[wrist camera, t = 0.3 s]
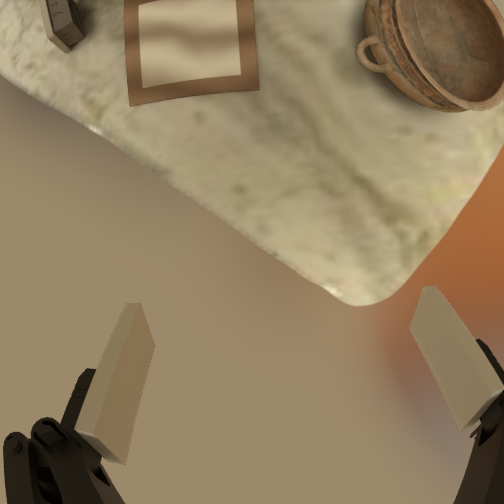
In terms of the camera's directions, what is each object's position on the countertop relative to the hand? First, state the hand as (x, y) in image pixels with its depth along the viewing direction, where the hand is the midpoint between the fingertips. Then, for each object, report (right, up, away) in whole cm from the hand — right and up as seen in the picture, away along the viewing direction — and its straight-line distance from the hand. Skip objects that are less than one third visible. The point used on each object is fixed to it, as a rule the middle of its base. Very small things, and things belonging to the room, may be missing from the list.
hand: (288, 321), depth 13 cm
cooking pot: (+20, +31, +16) cm, 40 cm away
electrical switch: (-26, +34, +13) cm, 45 cm away
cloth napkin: (-9, +29, +16) cm, 34 cm away
